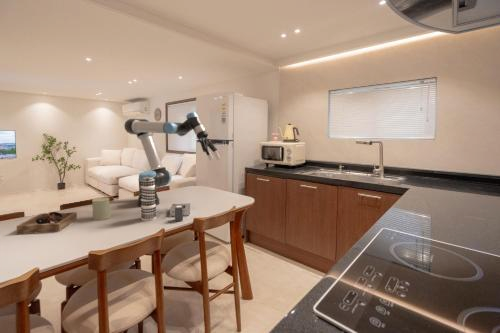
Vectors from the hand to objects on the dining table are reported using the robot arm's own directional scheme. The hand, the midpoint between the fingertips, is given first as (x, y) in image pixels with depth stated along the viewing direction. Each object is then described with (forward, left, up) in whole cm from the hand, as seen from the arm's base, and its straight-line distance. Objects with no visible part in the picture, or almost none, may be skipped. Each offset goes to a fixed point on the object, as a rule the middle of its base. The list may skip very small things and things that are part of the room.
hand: (215, 159), depth 181 cm
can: (-69, -13, -34) cm, 78 cm away
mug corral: (-92, -23, -34) cm, 101 cm away
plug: (-23, -25, -34) cm, 48 cm away
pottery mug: (-92, -23, -34) cm, 101 cm away
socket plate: (-23, -9, -34) cm, 42 cm away
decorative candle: (-41, -19, -34) cm, 57 cm away
